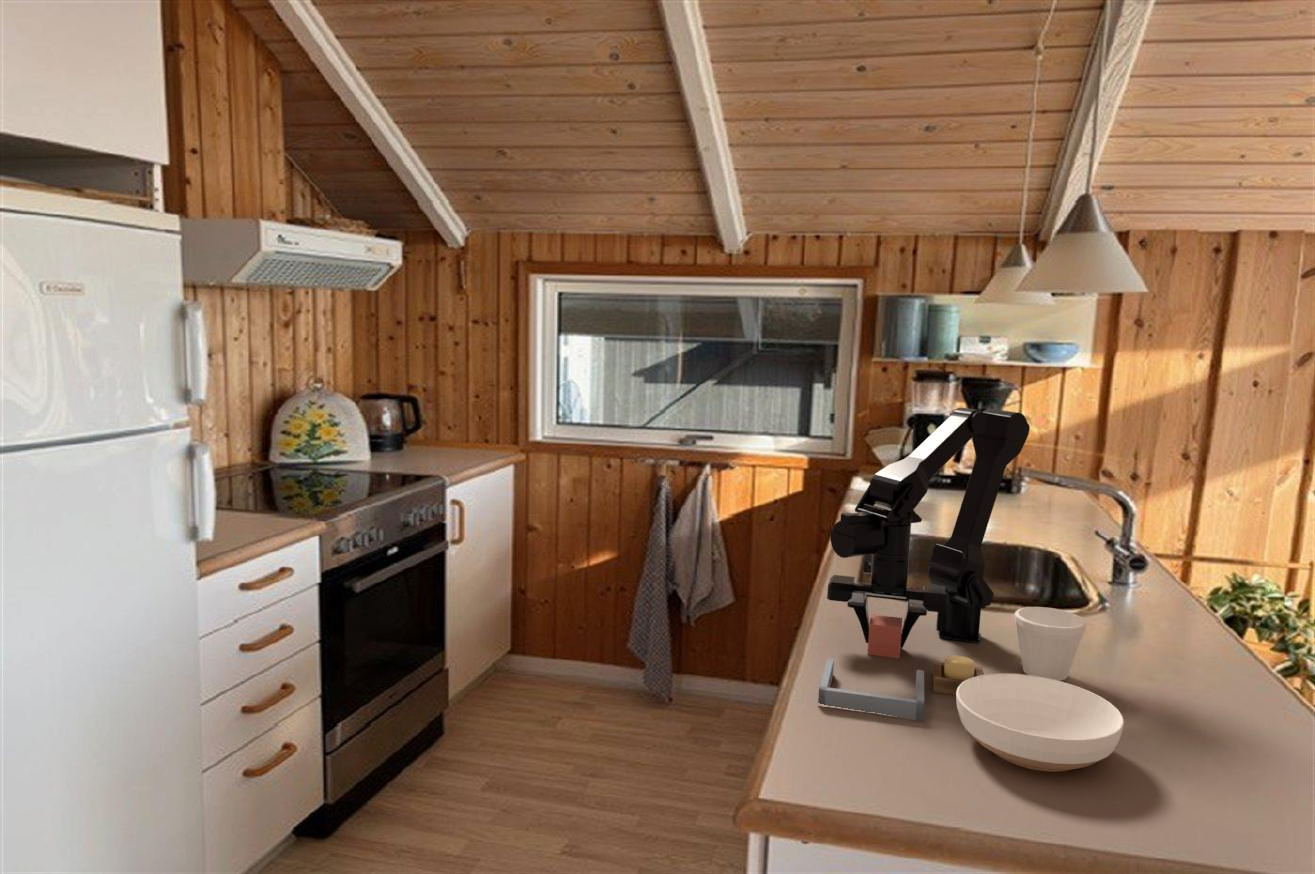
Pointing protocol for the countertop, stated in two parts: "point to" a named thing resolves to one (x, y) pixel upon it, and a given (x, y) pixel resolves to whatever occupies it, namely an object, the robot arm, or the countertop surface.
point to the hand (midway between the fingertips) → (884, 644)
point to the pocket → (872, 698)
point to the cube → (885, 636)
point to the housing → (948, 679)
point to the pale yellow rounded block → (959, 668)
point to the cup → (1048, 640)
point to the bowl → (1038, 721)
